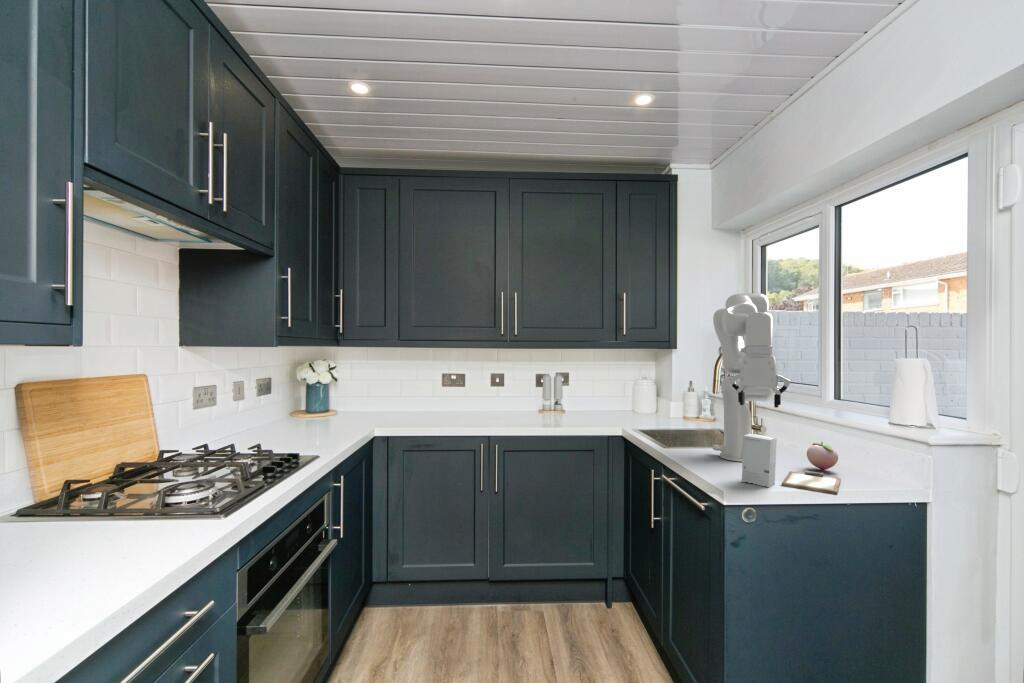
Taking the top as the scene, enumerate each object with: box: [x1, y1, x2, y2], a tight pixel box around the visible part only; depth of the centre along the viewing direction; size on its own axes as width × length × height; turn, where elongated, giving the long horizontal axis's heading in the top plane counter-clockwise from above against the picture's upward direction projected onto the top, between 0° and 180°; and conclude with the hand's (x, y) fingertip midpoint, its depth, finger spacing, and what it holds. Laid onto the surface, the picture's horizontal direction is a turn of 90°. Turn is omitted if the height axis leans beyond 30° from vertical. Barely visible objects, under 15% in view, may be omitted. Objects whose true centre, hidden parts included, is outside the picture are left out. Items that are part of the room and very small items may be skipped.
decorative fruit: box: [806, 441, 839, 471], centre depth 161 cm, size 9×8×10 cm
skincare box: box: [741, 433, 777, 488], centre depth 146 cm, size 8×6×15 cm
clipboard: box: [781, 470, 841, 495], centre depth 146 cm, size 14×17×2 cm
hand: (759, 405), depth 146 cm, fingers open, 9 cm apart
